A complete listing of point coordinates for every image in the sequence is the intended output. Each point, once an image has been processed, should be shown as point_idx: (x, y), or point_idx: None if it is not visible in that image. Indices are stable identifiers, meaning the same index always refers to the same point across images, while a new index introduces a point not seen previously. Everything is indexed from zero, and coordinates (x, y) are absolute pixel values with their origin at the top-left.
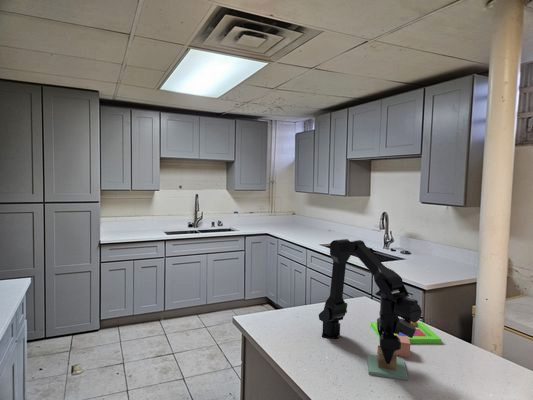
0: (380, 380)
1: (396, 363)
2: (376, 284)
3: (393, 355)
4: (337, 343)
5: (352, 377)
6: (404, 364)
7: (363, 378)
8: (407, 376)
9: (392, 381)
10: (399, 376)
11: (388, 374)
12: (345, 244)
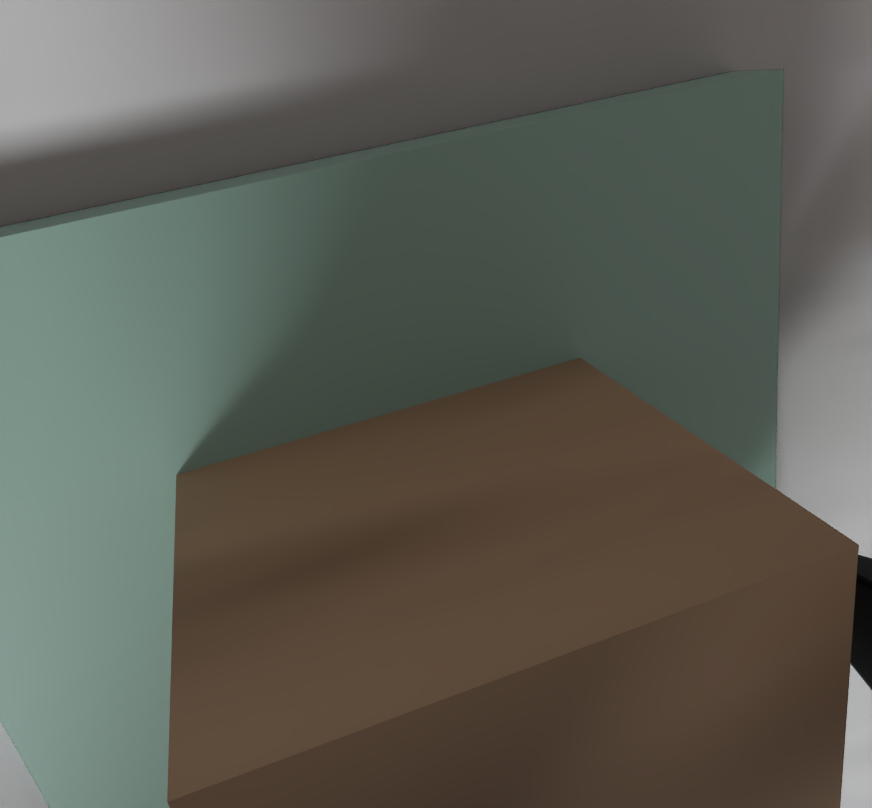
0: (850, 509)
1: (249, 408)
2: None
3: (836, 628)
4: None
5: (855, 795)
6: (175, 202)
7: (850, 698)
8: (760, 79)
9: (840, 343)
10: (767, 252)
11: (769, 453)
12: None
